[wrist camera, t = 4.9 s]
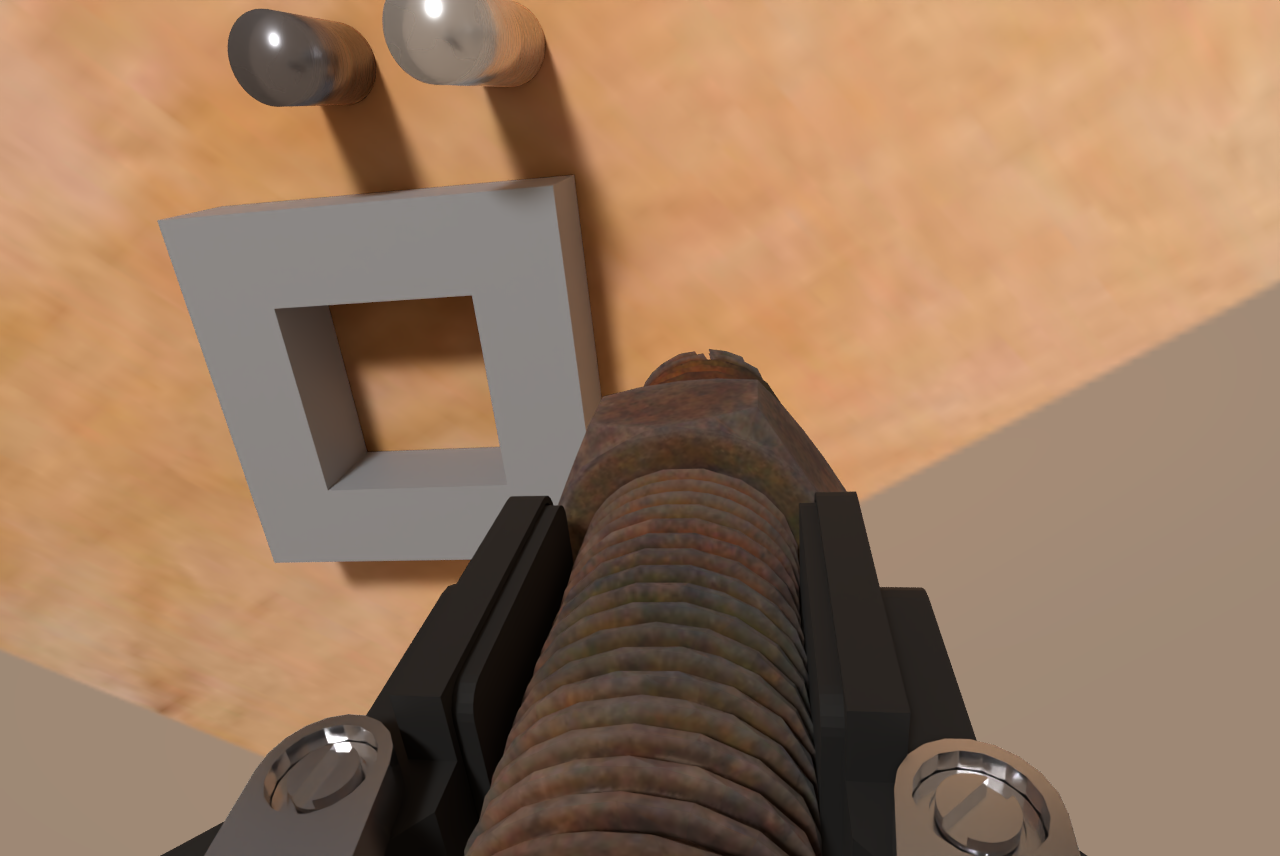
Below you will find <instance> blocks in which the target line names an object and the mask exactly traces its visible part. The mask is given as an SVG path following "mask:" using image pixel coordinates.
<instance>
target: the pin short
mask: <svg viewBox="0 0 1280 856" xmlns="http://www.w3.org/2000/svg"><path fill="white" fill-rule="evenodd" d="M228 57H229V61H230V65H231V68H232V71H233V73H234V75H235V77H236V79H237V80H238V82H239V83H240V85H241V86H242V87H243V89H244V90H245V91H246V92H247V93H248V94H249V95H251V96H252V97H253V98H255V99H256V100H258V101H260V102H261V103H264V104H266V105H270V106H276V107H282V106H320V105H351V104H355V103H358V102H360V101H361V100H363V99H364V98H365V97H366V96H367V95H368V94H369V93H370V91H371V89H372V87H373V85H374V82H375V77H376V63H375V58H374V55H373V52H372V49H371V48H370V46H369V44H368V42H367V41H366V39H365V38H364V37H363V36H362V35H361V34H360V33H359V32H358V31H357V30H355V29H354V28H352V27H351V26H349V25H346V24H344V23H340V22H334V21H329V20H323V19H318V18H312V17H307V16H302V15H296V14H291V13H285V12H280V11H274V10H269V9H255V10H251V11H248V12H246V13H245V14H243V15H242V16H240V17H239V18H238V19H237V21H236V22H235V23H234V25H233V27H232V29H231V31H230V35H229V39H228Z"/></svg>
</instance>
